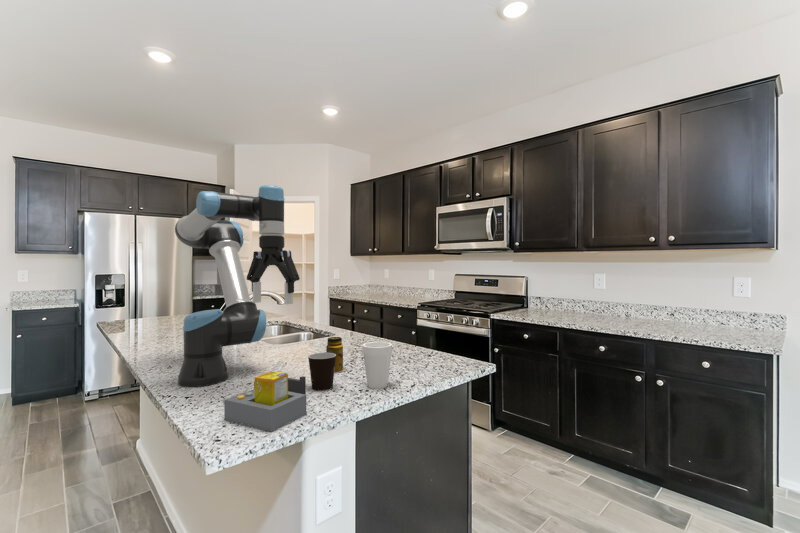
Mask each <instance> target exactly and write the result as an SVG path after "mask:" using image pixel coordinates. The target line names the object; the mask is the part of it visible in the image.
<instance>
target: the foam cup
mask: <svg viewBox="0 0 800 533" xmlns="http://www.w3.org/2000/svg"><path fill="white" fill-rule="evenodd" d="M361 346H362V348H361V349H362V354H363V361H364V368H365V369H364V370H365V375H366V384H367V387H368V388H370V389H383V388H386V387H388V383H389V376H390V375H389V374H390V366H391V358H392V353H393V343H392V342H387V341H372V342H370V341H369V342H365V343H363V344H362V345H361Z"/></svg>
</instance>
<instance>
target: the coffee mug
mask: <svg viewBox="0 0 800 533" xmlns="http://www.w3.org/2000/svg"><path fill="white" fill-rule="evenodd" d="M307 358H308V365H309V366H308V367H309V372H310V373H309V374H310V382H311V390H314V391H318V392H319V391H321V392H322V391H329V390H331V389H333V387H334V378H335V373H334V370H335V360H336V354H334V353H326V352H316V353H312V354H309V355H308V356H307Z"/></svg>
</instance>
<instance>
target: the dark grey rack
mask: <svg viewBox="0 0 800 533" xmlns="http://www.w3.org/2000/svg"><path fill="white" fill-rule="evenodd" d="M306 378H307V377H306V376H303V375H302V376H299V379H297V378H292V377H288V391H289V392H294V393H300V394H305V395H307V393H306V392H307V391H306V390H307V389H306V388H307V387H306V386H307V385H306V380H307V379H306ZM253 389H255V380H253Z"/></svg>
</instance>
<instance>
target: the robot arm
mask: <svg viewBox="0 0 800 533" xmlns="http://www.w3.org/2000/svg"><path fill="white" fill-rule="evenodd" d="M195 204H196V205H195V208H194V209H193V210H192V211H191V212H190V213H189V214H188V215H184V216H182V217H181V218H180V219H179V220H178V221H177V222H176V224H175V225H174V232H175V235H176V237H177V239H178V240H179V241H180V242H181V243H183V244H184V245H185V246H187V247H190V248H194V249H208V252H209V255H211V256H212V257H213V258H214V259H215V264H216V267H217V272H218V277H219V281H220V286H221V289H222V294H223V298H224V302H225V303H224V304H225V307H224V309H223V310H222V309H220V308H217V309H216V308H215V309H205V310H201V311H196V312H192V313H190V314H187V315H186V316H185V317H184V319H183V327H182V331H183V362H182V364H181V367H180V369H179V372H178V375H177V384H178V385H179V386H181V387H193V388H194V387H203V386H204V387H205V386H210V385H214V384H219V383H221V382H224V381H226V380H227V379H228V378H229V369H228V368H227V365H226V362H225V359H224V356H223V347H229V346H236V345H238V346H239V345H246V344H253V343H257V342H259V341H261V340H262V339H263V337H264V336H265V333H266V329H267V316H266V312H265V311H264V310H263V309H258V307H257V303H261V302H262V282H261V278H262V276H263V275H264V273H265V271H266V270H267V269H268V267H269V266H275V267H276V268H277V269H278V270H279V272H280V273H281V275H282V276H283V279H285V282H284V286H283V287H284V305H293V304H294V297H293V296H294V293H295V282H297V281H300V279H301V278H300V275H299V273H298V270H297V267H296V265H295V263H294V261H293V256H292V251H291V250H285V249H284V248H285V237H284V235H285V194H284V189H283V187H281V186H278V185H271V184H269V185H268V184H267V185H266V184H265V185H260V186H259V188H258V196H252V195H244V194H243V195H242V194H235V193H234V194H233V193H225V192H217V191H214V190H213V191H212V190H211V191H210V190H209V191H206V190H205V191H204V190H203V191H199V192H198V193H197V197H196V202H195ZM224 218H228V219H229V218H230V219H241V220H248V221H252V222H258V224H259V225H258V226H259V228H258V229H259V230H258V232H259V234H260V236H259V237H258V240H259V242H258V246H259V249H261V251H257V250H256V251H253V255H252V261H251V262H250V263H251V264H250V266H249V270H248V272H247V275H246V279H245V275H244V271H243V266H242V264H241V260H240V255H239V252H240V251H241V248H243V245H244V232H243V229H242V227H241V225H240V224H239V223H238V222H237V221H234V220H233V221H232V220H228V219H224ZM221 219H224V220H221ZM246 280H247V281H250V282H251V291H252V292H251V293H252V300H251V298H250V293H249V289H248V287H247V282H246Z"/></svg>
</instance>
